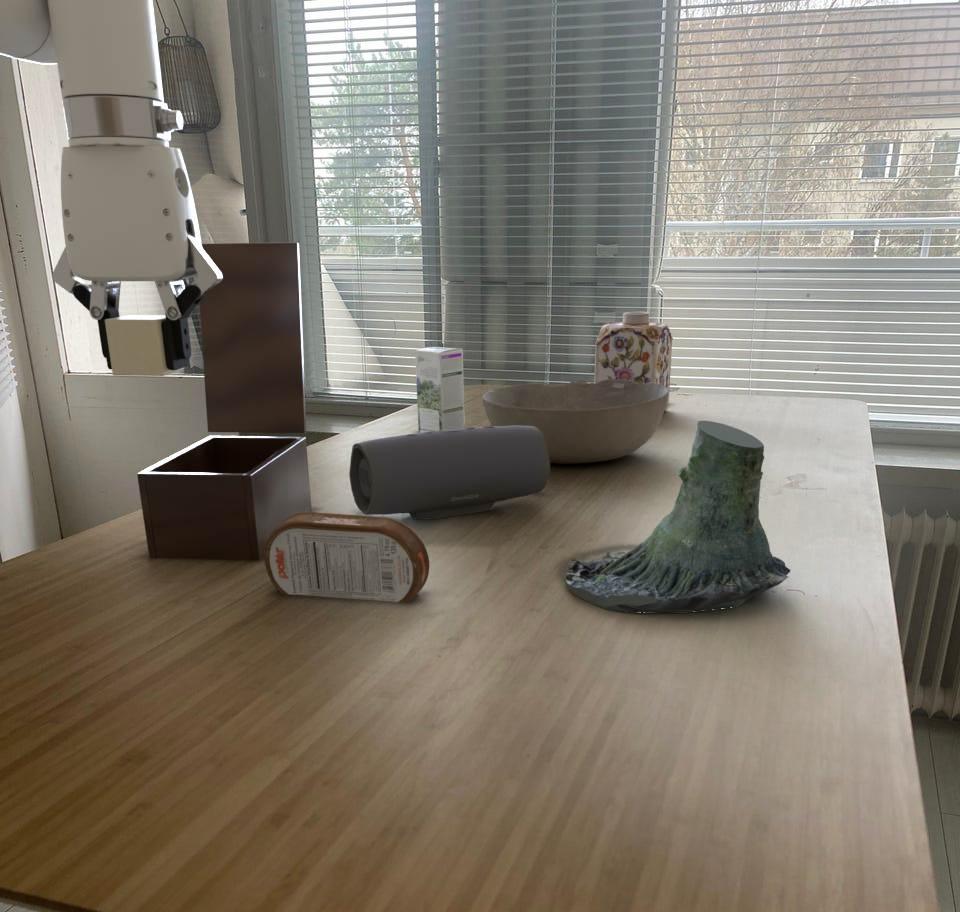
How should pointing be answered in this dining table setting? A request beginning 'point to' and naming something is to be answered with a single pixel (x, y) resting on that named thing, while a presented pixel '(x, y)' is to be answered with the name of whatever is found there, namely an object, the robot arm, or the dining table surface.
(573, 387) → the bowl
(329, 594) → the tin
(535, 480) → the bluetooth speaker
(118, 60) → the robot arm
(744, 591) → the tree stump
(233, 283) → the lid
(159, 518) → the chest
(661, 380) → the decorative jar
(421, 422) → the syrup box
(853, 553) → the dining table surface
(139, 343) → the block
